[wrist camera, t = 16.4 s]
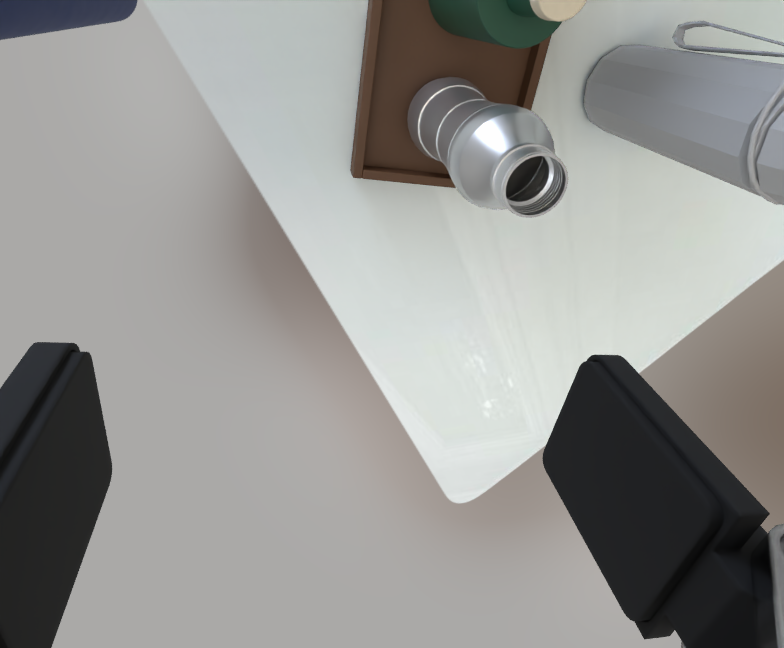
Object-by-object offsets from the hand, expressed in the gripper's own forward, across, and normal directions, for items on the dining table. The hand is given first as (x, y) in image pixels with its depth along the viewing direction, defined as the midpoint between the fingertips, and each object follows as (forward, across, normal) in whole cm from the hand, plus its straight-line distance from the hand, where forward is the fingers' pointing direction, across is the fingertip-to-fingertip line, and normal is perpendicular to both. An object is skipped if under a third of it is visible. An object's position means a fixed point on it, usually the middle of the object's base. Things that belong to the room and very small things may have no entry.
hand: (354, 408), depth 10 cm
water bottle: (+38, -28, -5) cm, 48 cm away
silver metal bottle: (+38, -12, 0) cm, 40 cm away
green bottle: (+38, -12, -9) cm, 41 cm away
